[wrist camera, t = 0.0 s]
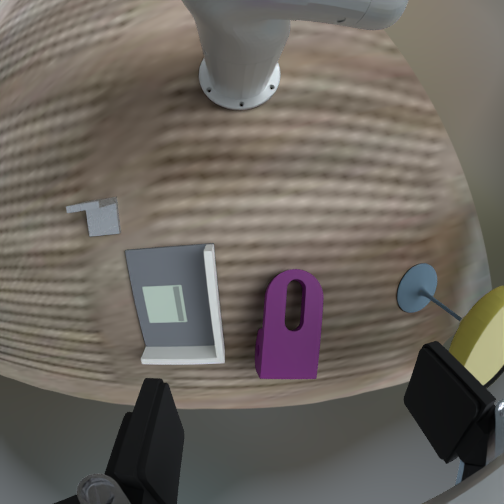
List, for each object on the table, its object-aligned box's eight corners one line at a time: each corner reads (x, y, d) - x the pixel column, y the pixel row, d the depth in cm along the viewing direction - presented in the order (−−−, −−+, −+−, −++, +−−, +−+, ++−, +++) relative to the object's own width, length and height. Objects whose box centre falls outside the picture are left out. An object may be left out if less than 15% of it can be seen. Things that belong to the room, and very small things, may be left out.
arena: (126, 249, 44) (116, 257, 39) (213, 243, 45) (211, 250, 40) (148, 349, 49) (142, 364, 45) (224, 348, 50) (224, 363, 46)
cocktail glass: (440, 316, 53) (508, 374, 29) (377, 335, 52) (441, 415, 28) (451, 241, 48) (540, 281, 24) (384, 251, 47) (480, 309, 23)
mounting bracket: (261, 272, 53) (253, 366, 50) (269, 266, 45) (259, 378, 41) (309, 276, 54) (302, 368, 50) (325, 271, 46) (316, 378, 42)
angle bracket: (87, 201, 41) (66, 206, 34) (117, 196, 41) (98, 201, 35) (91, 235, 43) (71, 245, 36) (121, 232, 43) (104, 242, 36)
